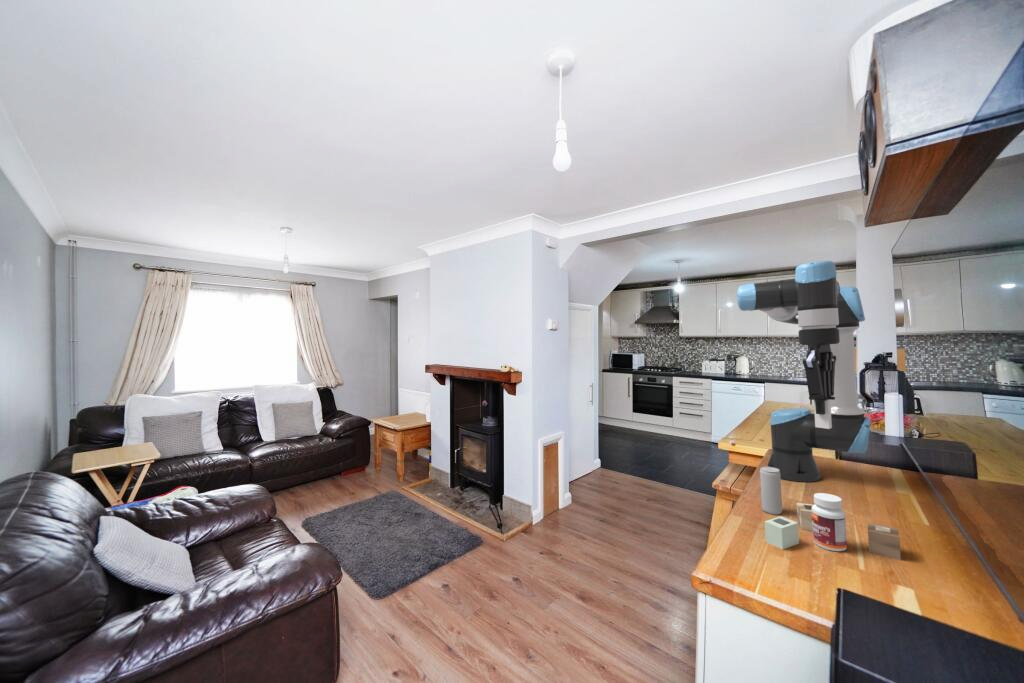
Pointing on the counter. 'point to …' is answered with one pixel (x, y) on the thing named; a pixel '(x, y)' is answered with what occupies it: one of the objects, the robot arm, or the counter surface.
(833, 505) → the pill bottle
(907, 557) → the counter surface
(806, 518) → the beech block
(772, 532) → the sage block
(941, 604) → the counter surface
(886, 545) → the walnut block
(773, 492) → the beverage can
